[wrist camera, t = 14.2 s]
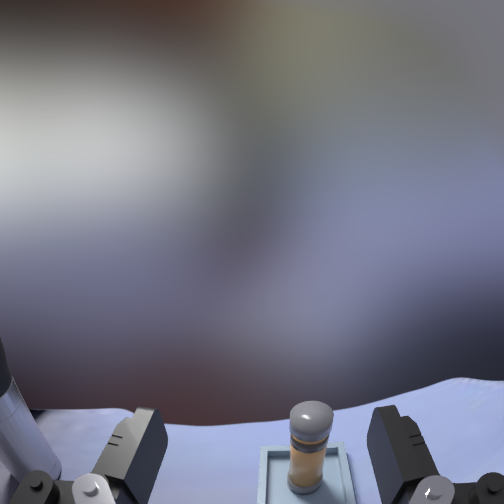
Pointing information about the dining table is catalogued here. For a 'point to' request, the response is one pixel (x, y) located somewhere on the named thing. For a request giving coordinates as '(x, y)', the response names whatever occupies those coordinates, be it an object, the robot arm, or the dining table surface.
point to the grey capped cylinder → (308, 445)
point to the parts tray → (323, 500)
